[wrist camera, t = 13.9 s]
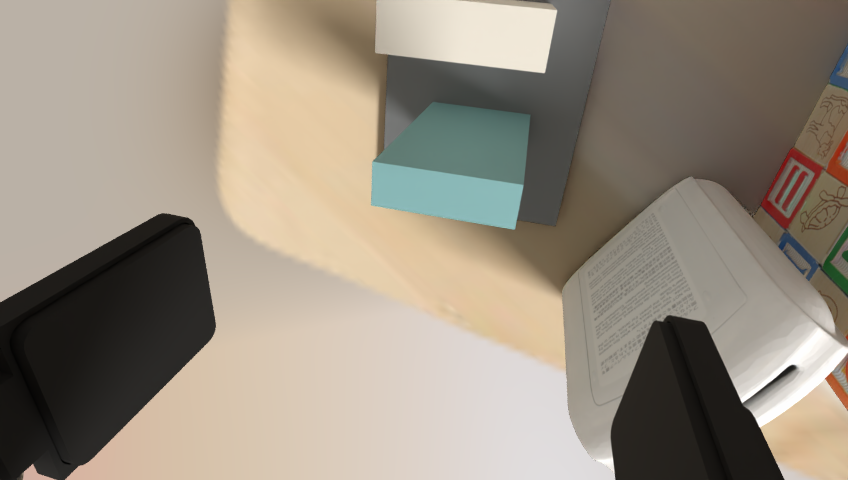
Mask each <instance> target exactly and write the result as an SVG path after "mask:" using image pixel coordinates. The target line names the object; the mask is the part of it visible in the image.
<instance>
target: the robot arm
mask: <svg viewBox="0 0 848 480" xmlns="http://www.w3.org/2000/svg"><path fill="white" fill-rule="evenodd" d="M215 328H216V323H215V316H214V310H213V305H212V299H211V293H210V288H209V281H208V275H207V269H206V263H205V257H204V252H203V245H202V240H201V234H200V230H199V229H198V228H197V227H196V226H195V224H194V222H193V221H192V220H191V219H189V218H186V217H181V216H176V215H171V214H164V213H162V214H159V215H157V216H155V217H153V218H151V219H149V220H148V221H146V222H144V223H142V224H141V225H139V226H137V227H135V228H133V229H131V230H130V231H128V232H126V233H124V234H122V235H121V236H119V237H117V238H116V239H113V240H112V241H110V242H108V243H106V244H104V245H103V246H101V247H99V248H97V249H96V250H94V251H92V252H90V253H88V254H87V255H85V256H83V257H81V258H79V259H78V260H76V261H74V262H72V263H70V264H69V265H67V266H65V267H63V268H61V269H60V270H58V271H56V272H54V273H52V274H51V275H49V276H47V277H45V278H43V279H42V280H40V281H38V282H36V283H34V284H33V285H31V286H29V287H27V288H26V289H24V290H22V291H20V292H18V293H17V294H15V295H13V296H11V297H9V298H7V299H6V300H4V301H2V302H0V480H23V472H24V471H25V470H26V469H27V468H29V467H30V466H31V465H32V464H34V467H35V468H36V471H37V473H38V474H41V475H44V476H47V477H50V478H53V479H56V480H65V479H66V478H67V477H68V476H69V475H70V474H71V473H72V472H73V471H74V470H75V469H76V468H77V467H78V466H80V465H84V464H86V463H87V462H89V461H90V460H91V459H92V458H93V457H94V456H95V455H96V454H97V453H98V452H99V451H100V450H101V449H102V448H103V447H104V446H105V445H106V444H107V443H108V442H109V441H110V440H111V439H112V438H113V437H114V436H115V435H116V434H117V433H118V432H119V431H120V430H121V429H122V428H123V427H124V426H125V425H126V424H127V423H128V422H129V421H130V420H131V419H132V418H133V417H134V416H135V415H136V414H137V413H138V412H139V411H140V410H141V409H142V408H143V407H144V406H145V405H146V404H147V403H148V402H149V401H150V400H151V399H152V398H153V397H154V396H155V395H156V394H157V393H158V392H159V391H160V390H161V389H162V388H163V387H164V386H165V385H166V384H167V383H168V382H169V381H170V380H171V379H172V378H173V377H174V376H175V375H176V374H177V373H178V372H179V371H180V370H181V369H182V368H183V367H184V366H185V365H186V364H187V363H188V362H189V361H190V360H191V359H192V358H193V357H194V356H195V355H196V354H197V353H198V352H199V351H200V350H201V349H202V348H203V347H204V346H205V345H206V344H207V343H208V342H209V341H210V340H211V338H212V337H213V335H214V332H215ZM611 448H612V455H613V463H614V471H615V479H616V480H784V478H783V476H782V474H781V471H780V469H779V467H778V465H777V463H776V461H775V459H774V457H773V455H772V452H771V450H770V448H769V446H768V444H767V442H766V440H765V438H764V436H763V433H762V431H761V429H760V427H759V425H758V423H757V421H756V419H755V417H754V416H753V414H752V413H751V411H750V410H749V409H747V408H746V407H744V406H743V404H742V402H741V400H740V398H739V395H738V393H737V391H736V389H735V387H734V384H733V382H732V380H731V378H730V376H729V374H728V371H727V369H726V367H725V365H724V363H723V360H722V358H721V356H720V354H719V352H718V350H717V347H716V345H715V343H714V341H713V339H712V336H711V334H710V332H709V330H708V328H707V326H706V324H705V323H704V322H702V321H697V320H692V319H687V318H682V317H677V316H673V315H668V316H666V318H665V319H664V320H663V322H662V321H657V320H656V321H654V322H653V323H652V325H651V327H650V329H649V332H648V334H647V337H646V339H645V342H644V344H643V347H642V349H641V352H640V354H639V357H638V359H637V362H636V364H635V367H634V369H633V372H632V374H631V377H630V379H629V382H628V384H627V387H626V389H625V392H624V394H623V397H622V399H621V402H620V404H619V407H618V409H617V412H616V414H615V417H614V419H613V422H612V426H611Z"/></svg>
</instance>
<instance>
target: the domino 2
mask: <svg viewBox="0 0 848 480" xmlns="http://www.w3.org/2000/svg"><path fill="white" fill-rule="evenodd" d="M529 125H530V114H522V113H514V112H507V111H499V110H491V109H484V108H476V107H469V106H461V105H453V104H446V103H438V102H432V103H431V104H430V105H429V106H428V107H427V108H426V109H425V110H424V111H423V112H422V113H421V114H420V115H419V116H418V117H417V118H416V119H415V120H414V121H413V122H412V123H411V124H410V125H409V126H408V127H407V128H406V129H405V130H404V131H403V132H402V133H401V134H400V135H399V136H398V137H397V138H396V139H395V140H394V141H393V142H392V143H391V144H390V145H389V146H388V147H387V148H386V149H385V150H384V151H383V152H382V153H381V154H380V155H379V156H378V157H377V158H376V159H375V160H374V161H373V162H372V197H371V205H372V206H378V207H383V208H389V209H395V210H401V211H407V212H413V213H419V214H425V215H431V216H437V217H442V218H448V219H454V220H460V221H466V222H472V223H478V224H484V225H490V226H496V227H501V228H507V229H513V230H515V227H516V222H517V216H518V211H519V206H520V201H521V196H522V191H523V186H524V176H525V166H526V156H527V145H528V135H529Z"/></svg>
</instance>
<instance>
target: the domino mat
mask: <svg viewBox="0 0 848 480" xmlns="http://www.w3.org/2000/svg"><path fill="white" fill-rule="evenodd" d="M519 1H529V2H540V3H550V4H552V5H553V6H554V7H555V8H556V9H557V14H556V19H555V25H554V30H553V35H552V40H551V45H550V50H549V55H548V60H547V65H546V70H545V73H538V72H530V71H522V70H513V69H505V68H497V67H488V66H480V65H471V64H463V63H455V62H446V61H438V60H430V59H421V58H413V57H405V56H396V55H388V65H387V89H386V112H385V136H384V150H385V149H386V148H387V147H388V146H389V145H390V144H391V143H392V142H393V141H394V140H395V139H396V138H397V137H398V136H399V135H400V134H401V133H402V132H403V131H404V130H405V129H406V128H407V127H408V126H409V125H410V124H411V123H412V122H413V121H414V120H415V119H416V118H417V117H418V116H419V115H420V114H421V113H422V112H423V111H424V110H425V109H426V108H427V107H428V106H429V105H430V104H431V103H432V102H438V103H446V104H453V105H461V106H469V107H476V108H484V109H491V110H499V111H507V112H514V113H522V114H530V125H529V135H528V145H527V156H526V166H525V176H524V186H523V191H522V196H521V201H520V206H519V211H518V216H517V220H521V221H527V222H533V223H539V224H545V225H551V226H556V222H557V218H558V214H559V210H560V206H561V202H562V198H563V193H564V189H565V185H566V181H567V177H568V173H569V169H570V165H571V161H572V157H573V153H574V148H575V144H576V140H577V136H578V132H579V128H580V124H581V120H582V116H583V112H584V108H585V103H586V99H587V95H588V91H589V87H590V83H591V79H592V75H593V71H594V67H595V63H596V58H597V54H598V50H599V46H600V42H601V38H602V34H603V30H604V26H605V22H606V18H607V13H608V9H609V5H610V1H611V0H519Z"/></svg>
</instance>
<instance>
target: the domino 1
mask: <svg viewBox="0 0 848 480" xmlns="http://www.w3.org/2000/svg"><path fill="white" fill-rule="evenodd" d="M556 14H557V9H556V8H555V7H554V6H553V5H552V4H550V3H540V2H529V1H519V0H377V3H376V37H375V53H379V54H388V55H396V56H405V57H413V58H421V59H430V60H438V61H446V62H455V63H463V64H471V65H480V66H488V67H497V68H505V69H513V70H522V71H530V72H538V73H545V70H546V65H547V60H548V55H549V50H550V45H551V40H552V35H553V30H554V25H555V19H556Z"/></svg>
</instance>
